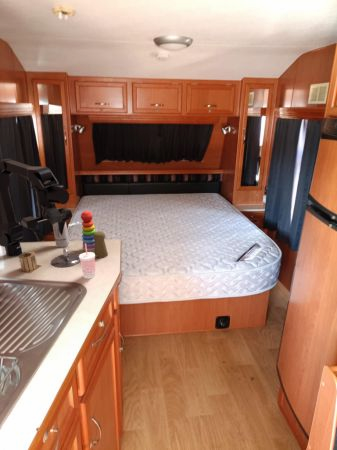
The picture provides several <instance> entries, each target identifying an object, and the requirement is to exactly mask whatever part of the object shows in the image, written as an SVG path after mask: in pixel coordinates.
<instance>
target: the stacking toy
mask: <svg viewBox="0 0 337 450" xmlns="http://www.w3.org/2000/svg"><path fill="white" fill-rule="evenodd" d="M80 219H81V221H82V222H81V223H82V232H81V233H82V235H81V237H82V239H81V241H82V251H84V252H86V249H85V243H86V246H87V252H93V253H94V248H95V240H94V239H93V234H94V233H95V232H97V231H96V229H95V227H96V226H95V225H94V221H93V213H92V212H91V211H89V210H84V211H82V213H81V214H80Z"/></svg>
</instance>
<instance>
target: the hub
mask: <svg viewBox="0 0 337 450" xmlns="http://www.w3.org/2000/svg"><path fill="white" fill-rule="evenodd" d="M62 252H63V254H60V255H57V256H56V257H53V259H51V260H50V265H51V266H52V267H54V268H58V269H59V268H60V269H61V268H62V269H64V268H65V269H67V268H71V267H74V266H76V265H78V264H79V263H80V264H81V261H80V259H79V255H80V254H78V253H69V252H68V249H67V248H62Z"/></svg>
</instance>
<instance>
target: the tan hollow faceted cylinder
mask: <svg viewBox="0 0 337 450" xmlns="http://www.w3.org/2000/svg"><path fill="white" fill-rule="evenodd" d="M18 260H19V263H20V268H21V269H22V271H24V272H29V271H33V270H35V269H36V268H37V267H38V266H37V265H38V263H37V262H38V261H37V256H36V252H34V251H24V252H22V254H20V255H19V256H18ZM36 270H37V269H36ZM36 270H35V271H36ZM24 272H23V273H24ZM33 272H34V271H33Z"/></svg>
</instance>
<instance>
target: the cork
mask: <svg viewBox="0 0 337 450" xmlns="http://www.w3.org/2000/svg"><path fill="white" fill-rule="evenodd" d="M105 238H106V234H105V232H104V231H96V232H95V233H94V234H93V239H94V240H95V248H94V252H93V253H95V258H96V259H105V258H107V257H108V255H109V253H108V249H107V245H106V239H105Z"/></svg>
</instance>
